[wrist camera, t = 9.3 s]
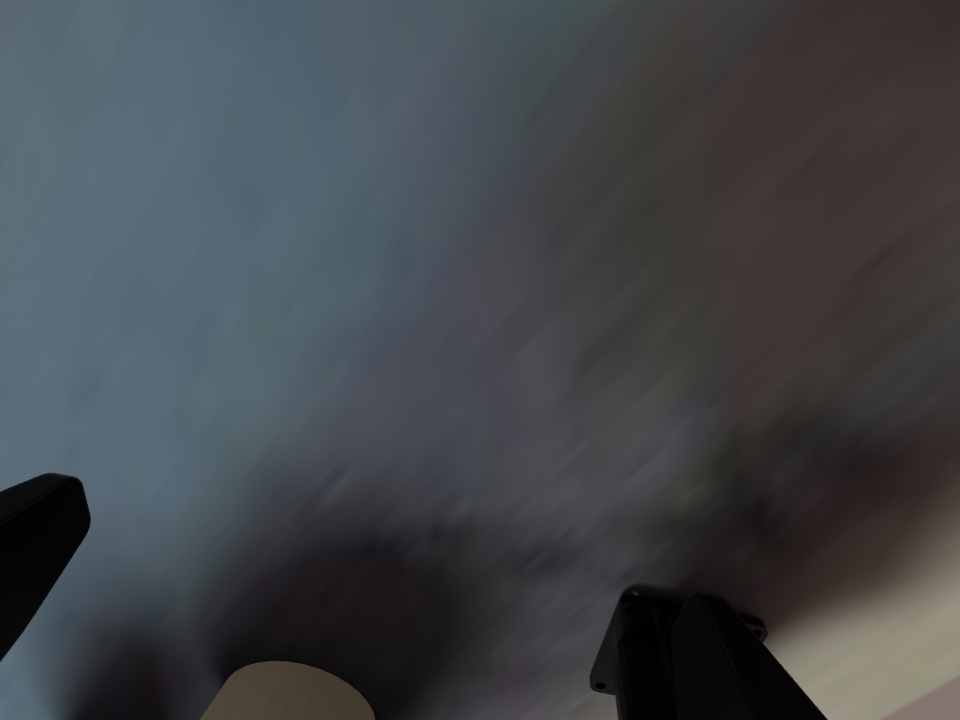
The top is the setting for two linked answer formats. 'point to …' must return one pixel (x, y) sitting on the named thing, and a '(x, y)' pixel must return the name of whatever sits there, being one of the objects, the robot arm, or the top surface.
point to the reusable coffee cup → (287, 695)
